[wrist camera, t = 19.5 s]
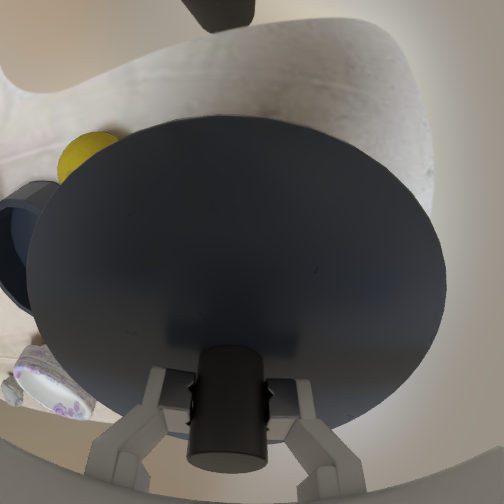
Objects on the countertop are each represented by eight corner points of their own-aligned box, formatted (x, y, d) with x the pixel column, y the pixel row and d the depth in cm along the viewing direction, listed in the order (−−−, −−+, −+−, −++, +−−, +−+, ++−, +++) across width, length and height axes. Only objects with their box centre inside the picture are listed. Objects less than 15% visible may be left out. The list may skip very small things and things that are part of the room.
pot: (-1, 180, 25) (-29, 197, 20) (101, 182, 26) (75, 203, 22) (23, 286, 33) (5, 309, 28) (115, 305, 34) (100, 335, 29)
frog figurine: (18, 386, 49) (8, 407, 43) (3, 368, 45) (-9, 389, 39) (34, 391, 49) (23, 413, 43) (18, 372, 45) (6, 395, 39)
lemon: (108, 191, 27) (69, 226, 20) (78, 149, 24) (30, 172, 17) (148, 160, 25) (114, 187, 18) (117, 114, 23) (72, 126, 16)
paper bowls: (75, 392, 46) (63, 423, 39) (19, 342, 39) (1, 373, 33) (121, 381, 43) (109, 420, 36) (55, 320, 36) (32, 358, 29)
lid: (13, 117, 7) (-106, 167, 2) (489, 177, 8) (590, 249, 3) (92, 405, 15) (71, 472, 11) (349, 427, 16) (362, 495, 12)
